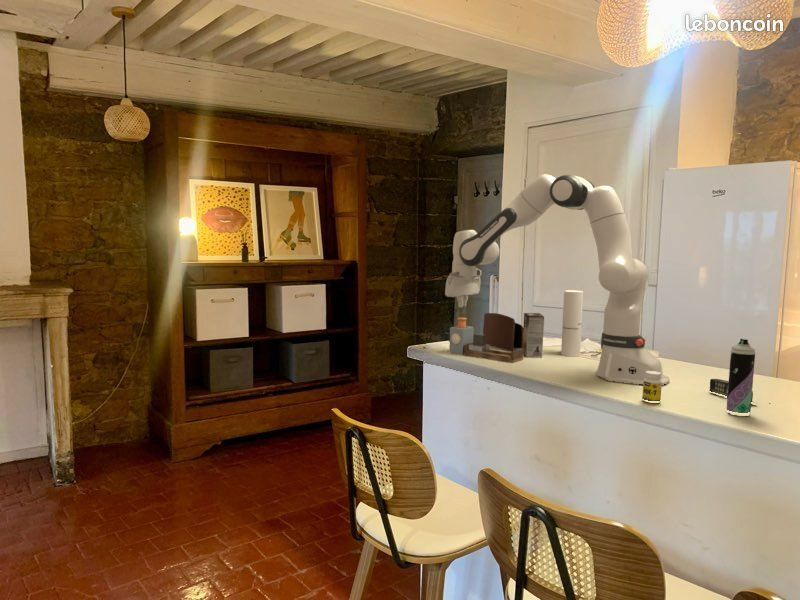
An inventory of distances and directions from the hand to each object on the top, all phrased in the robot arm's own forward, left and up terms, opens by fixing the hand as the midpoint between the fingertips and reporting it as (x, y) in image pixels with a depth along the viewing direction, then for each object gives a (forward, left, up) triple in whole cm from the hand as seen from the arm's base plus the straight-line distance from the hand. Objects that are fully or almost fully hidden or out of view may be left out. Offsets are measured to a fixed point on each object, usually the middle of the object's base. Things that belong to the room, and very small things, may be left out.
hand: (462, 307), depth 230 cm
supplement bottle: (-78, +24, -18) cm, 83 cm away
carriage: (-8, 0, -17) cm, 19 cm away
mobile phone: (-95, +6, -18) cm, 97 cm away
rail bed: (-14, 0, -18) cm, 23 cm away
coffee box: (-24, -14, -18) cm, 33 cm away
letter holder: (-7, -24, -18) cm, 31 cm away
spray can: (-99, +21, -18) cm, 103 cm away
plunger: (0, 0, -11) cm, 11 cm away
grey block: (0, 0, -18) cm, 18 cm away
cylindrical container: (-35, -25, -18) cm, 46 cm away
